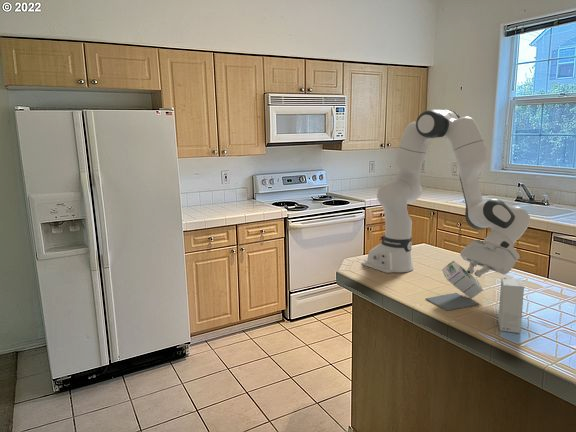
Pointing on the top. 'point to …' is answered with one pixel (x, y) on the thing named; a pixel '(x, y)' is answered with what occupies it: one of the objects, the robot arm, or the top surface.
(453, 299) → the mat
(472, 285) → the syrup box
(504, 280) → the skincare box
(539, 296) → the top surface
